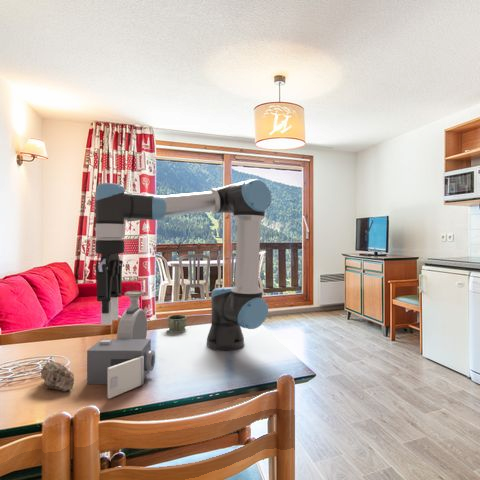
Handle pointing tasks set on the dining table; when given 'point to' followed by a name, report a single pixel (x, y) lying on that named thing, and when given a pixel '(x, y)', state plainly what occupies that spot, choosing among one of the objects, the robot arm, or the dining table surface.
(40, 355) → the dining table surface
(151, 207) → the robot arm
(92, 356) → the camera body
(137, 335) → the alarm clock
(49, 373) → the rock
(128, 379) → the door
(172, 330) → the vessel
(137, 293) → the candle holder
